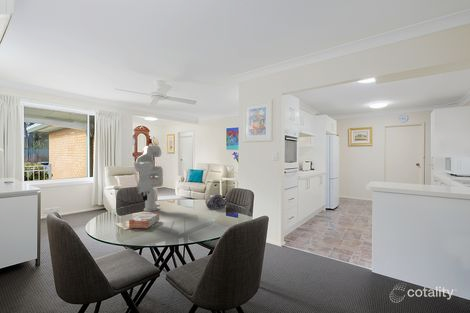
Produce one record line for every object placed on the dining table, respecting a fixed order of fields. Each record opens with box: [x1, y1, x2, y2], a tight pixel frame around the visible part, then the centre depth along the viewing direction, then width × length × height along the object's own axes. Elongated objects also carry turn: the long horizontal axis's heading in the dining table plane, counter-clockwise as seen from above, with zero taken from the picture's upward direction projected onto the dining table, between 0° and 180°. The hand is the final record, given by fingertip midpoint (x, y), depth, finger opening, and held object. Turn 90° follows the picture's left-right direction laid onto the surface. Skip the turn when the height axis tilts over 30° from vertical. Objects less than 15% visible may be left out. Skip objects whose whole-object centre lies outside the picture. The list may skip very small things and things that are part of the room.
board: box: [114, 220, 133, 231], centre depth 183 cm, size 22×20×1 cm
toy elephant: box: [205, 193, 228, 210], centre depth 233 cm, size 20×18×15 cm
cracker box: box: [128, 212, 160, 229], centre depth 180 cm, size 14×6×21 cm
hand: (145, 200), depth 189 cm, fingers closed
